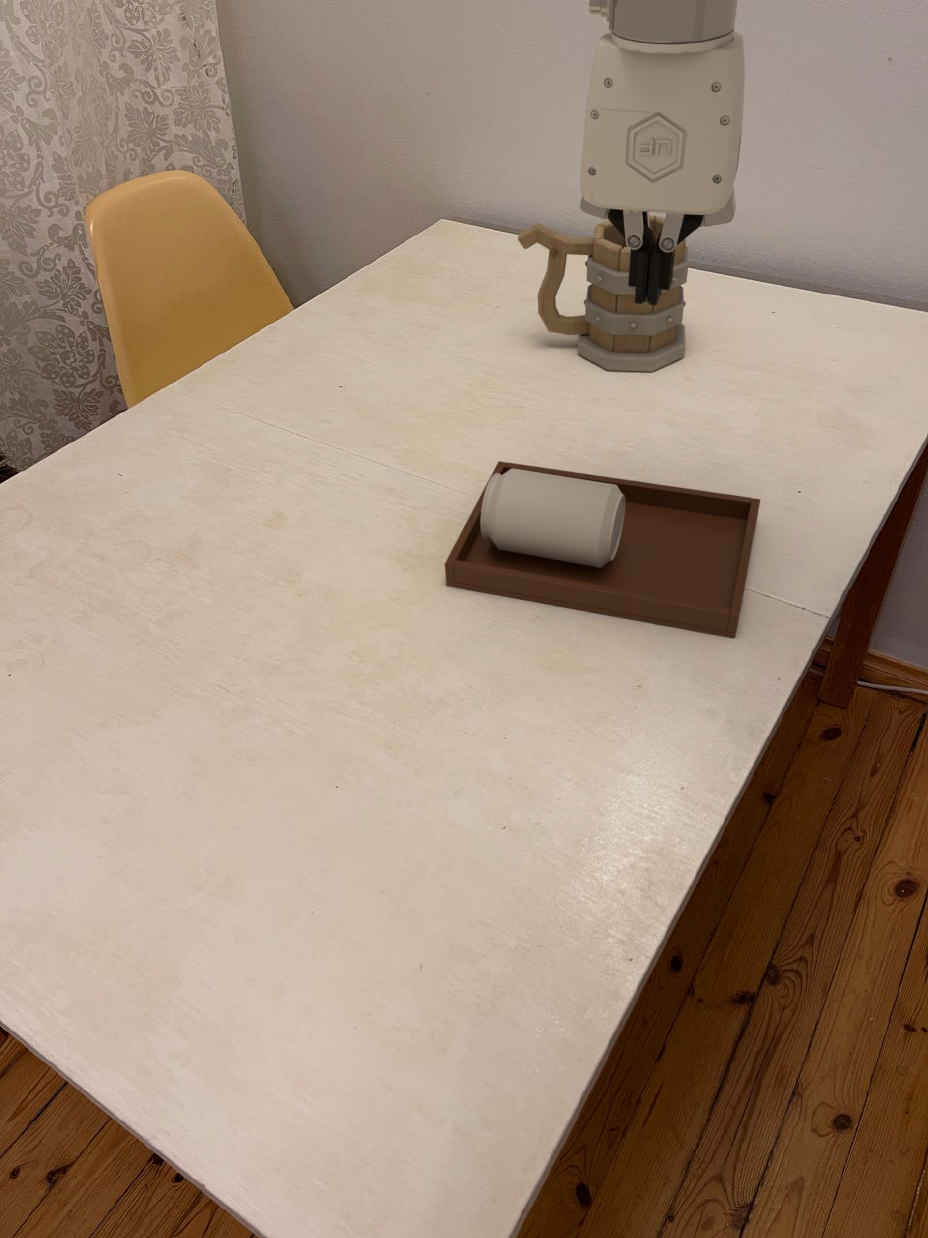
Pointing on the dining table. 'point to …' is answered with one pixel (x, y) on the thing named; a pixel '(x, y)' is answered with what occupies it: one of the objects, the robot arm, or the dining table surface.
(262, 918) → the dining table surface
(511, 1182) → the dining table surface
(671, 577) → the tray
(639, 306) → the tankard
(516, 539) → the can
